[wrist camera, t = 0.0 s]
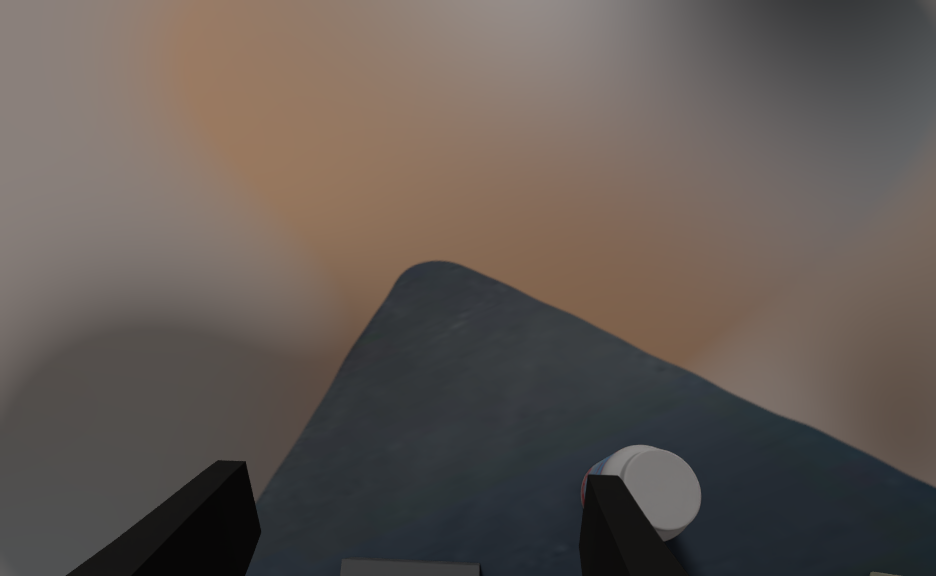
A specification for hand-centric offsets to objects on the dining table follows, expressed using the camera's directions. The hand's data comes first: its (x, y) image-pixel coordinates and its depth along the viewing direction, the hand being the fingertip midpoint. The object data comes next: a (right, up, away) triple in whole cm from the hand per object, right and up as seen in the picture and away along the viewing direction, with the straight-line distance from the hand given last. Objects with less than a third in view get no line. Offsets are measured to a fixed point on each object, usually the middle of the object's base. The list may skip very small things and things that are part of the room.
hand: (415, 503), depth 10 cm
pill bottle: (+13, -13, +30) cm, 35 cm away
